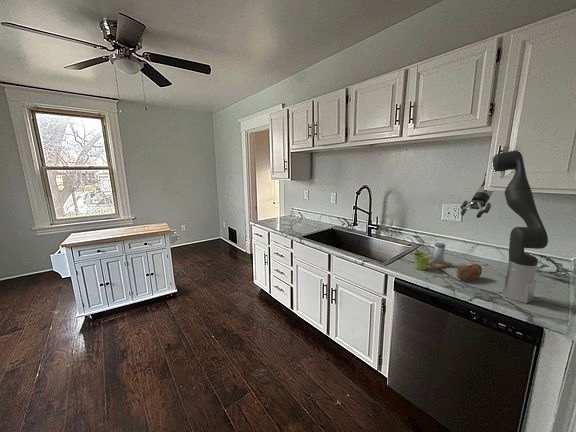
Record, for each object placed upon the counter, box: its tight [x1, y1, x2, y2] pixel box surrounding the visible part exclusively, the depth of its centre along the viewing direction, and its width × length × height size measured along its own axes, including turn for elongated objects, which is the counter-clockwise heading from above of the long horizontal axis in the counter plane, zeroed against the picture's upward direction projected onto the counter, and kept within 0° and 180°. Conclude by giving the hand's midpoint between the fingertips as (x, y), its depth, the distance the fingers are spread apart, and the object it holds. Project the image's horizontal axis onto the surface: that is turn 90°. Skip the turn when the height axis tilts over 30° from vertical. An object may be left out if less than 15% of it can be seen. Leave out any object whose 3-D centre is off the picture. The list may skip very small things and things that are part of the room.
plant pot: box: [412, 251, 432, 271], centre depth 144 cm, size 9×9×9 cm
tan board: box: [427, 258, 453, 270], centre depth 149 cm, size 10×12×1 cm
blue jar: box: [433, 242, 446, 264], centre depth 148 cm, size 6×6×12 cm
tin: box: [456, 262, 483, 282], centre depth 129 cm, size 15×3×8 cm, turn 105°
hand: (469, 215), depth 143 cm, fingers open, 8 cm apart
